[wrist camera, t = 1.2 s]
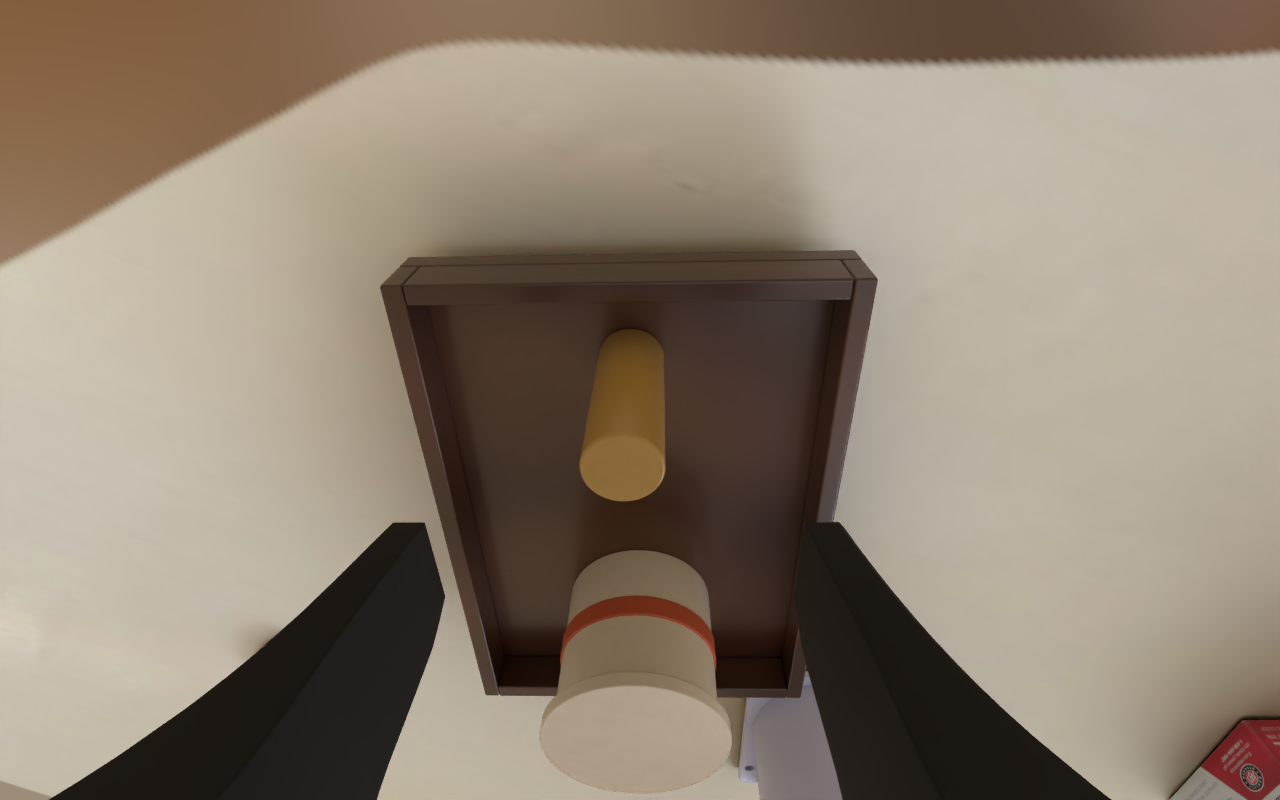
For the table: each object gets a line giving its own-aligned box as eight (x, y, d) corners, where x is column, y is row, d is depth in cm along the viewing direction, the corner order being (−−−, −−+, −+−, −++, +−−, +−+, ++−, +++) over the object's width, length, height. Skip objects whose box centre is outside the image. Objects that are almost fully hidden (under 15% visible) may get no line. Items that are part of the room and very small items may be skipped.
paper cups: (714, 648, 26) (727, 795, 21) (569, 647, 26) (549, 792, 22) (720, 542, 23) (737, 686, 18) (556, 542, 23) (528, 685, 18)
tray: (791, 650, 27) (823, 804, 22) (497, 648, 28) (459, 798, 23) (855, 249, 18) (938, 350, 13) (408, 256, 18) (305, 357, 13)
